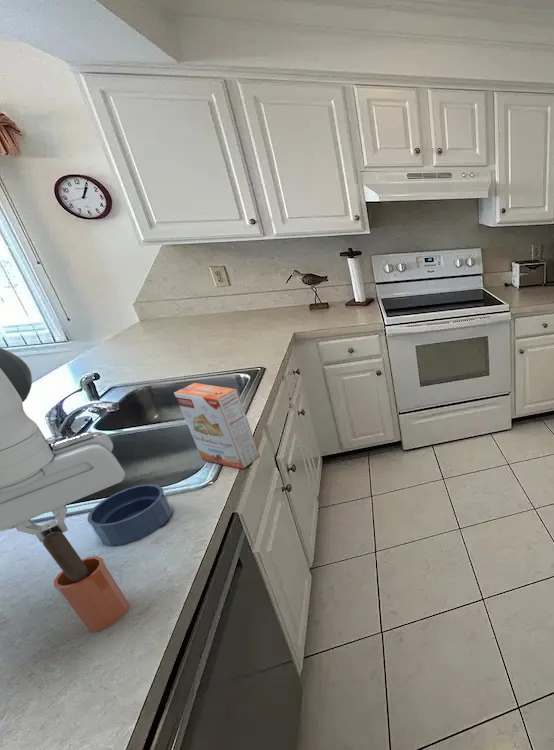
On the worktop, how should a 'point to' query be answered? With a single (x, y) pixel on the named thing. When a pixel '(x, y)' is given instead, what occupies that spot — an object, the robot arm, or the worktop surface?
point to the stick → (65, 556)
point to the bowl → (130, 514)
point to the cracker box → (218, 424)
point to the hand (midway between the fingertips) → (54, 534)
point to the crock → (94, 596)
